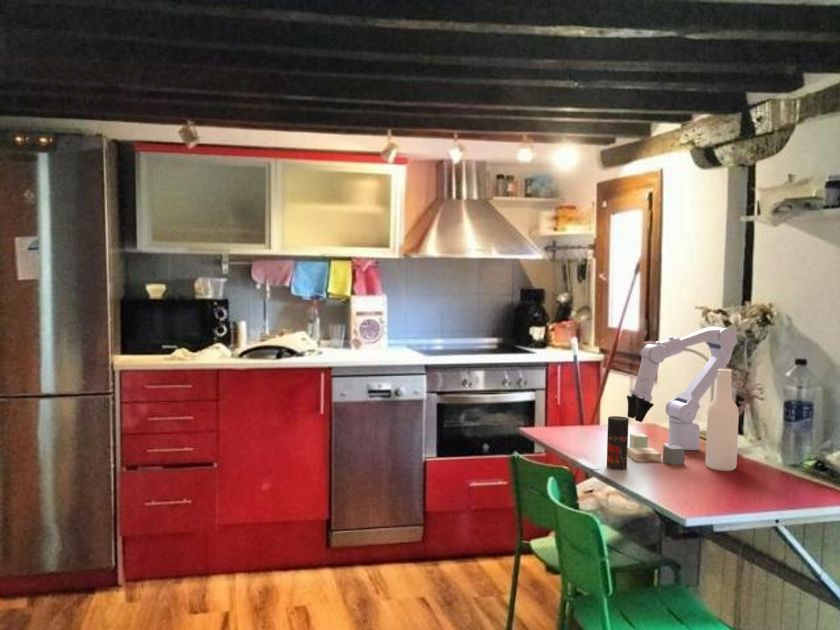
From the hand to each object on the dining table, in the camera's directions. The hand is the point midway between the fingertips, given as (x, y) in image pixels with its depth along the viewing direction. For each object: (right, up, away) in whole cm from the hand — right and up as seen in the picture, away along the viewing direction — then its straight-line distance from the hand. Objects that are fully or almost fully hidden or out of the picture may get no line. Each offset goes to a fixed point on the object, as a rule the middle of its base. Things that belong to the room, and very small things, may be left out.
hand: (634, 419), depth 252 cm
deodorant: (-12, -12, -22) cm, 27 cm away
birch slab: (0, -11, -11) cm, 15 cm away
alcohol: (+20, -12, -21) cm, 31 cm away
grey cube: (+8, -11, -16) cm, 21 cm away
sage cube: (+1, -10, 0) cm, 10 cm away
